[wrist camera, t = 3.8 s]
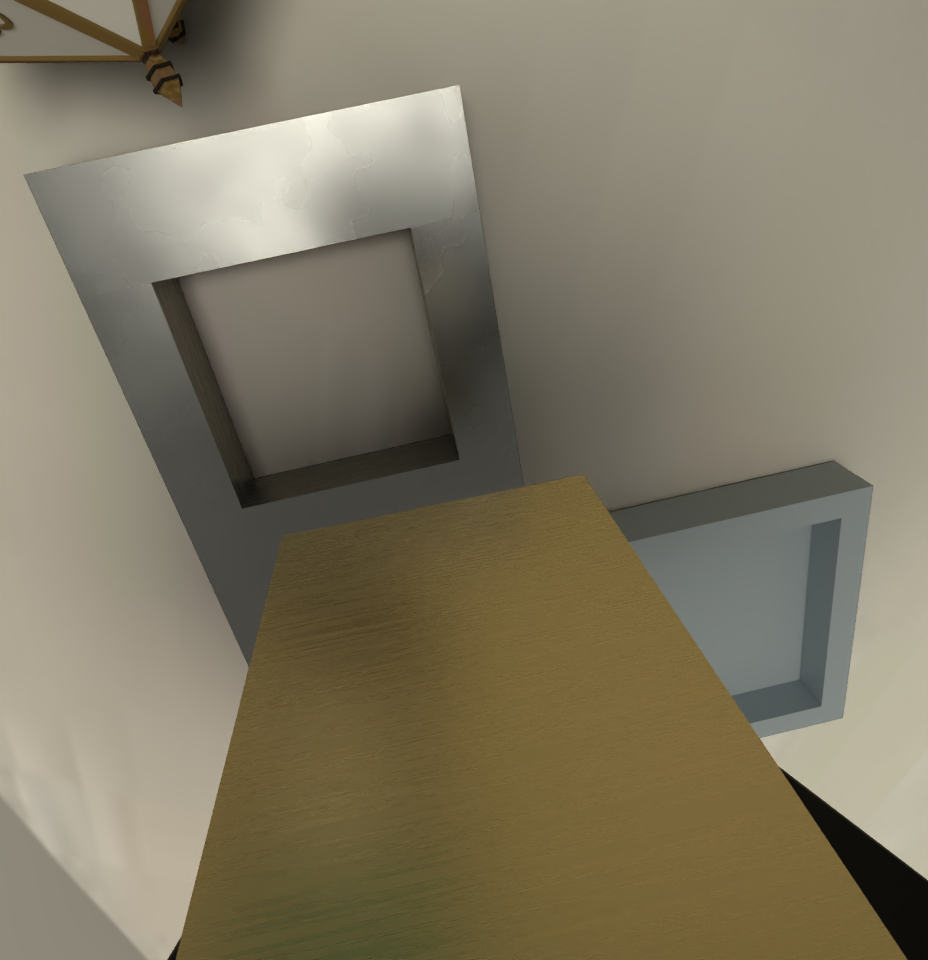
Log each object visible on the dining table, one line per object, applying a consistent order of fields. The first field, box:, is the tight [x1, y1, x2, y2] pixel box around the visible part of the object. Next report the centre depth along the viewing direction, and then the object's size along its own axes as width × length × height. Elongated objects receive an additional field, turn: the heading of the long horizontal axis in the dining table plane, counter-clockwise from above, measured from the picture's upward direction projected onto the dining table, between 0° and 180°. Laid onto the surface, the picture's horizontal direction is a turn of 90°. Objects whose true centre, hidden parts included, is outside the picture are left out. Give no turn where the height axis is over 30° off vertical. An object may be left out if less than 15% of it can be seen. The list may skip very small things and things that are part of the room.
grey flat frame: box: [24, 85, 524, 666], centre depth 20 cm, size 10×22×2 cm, turn 11°
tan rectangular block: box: [176, 475, 907, 960], centre depth 8 cm, size 5×5×8 cm
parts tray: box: [609, 461, 873, 738], centre depth 24 cm, size 11×11×2 cm
